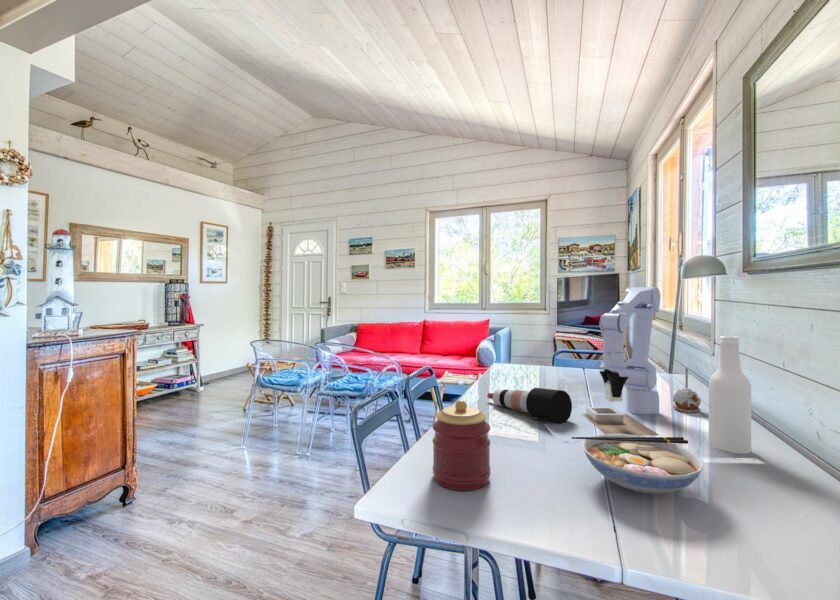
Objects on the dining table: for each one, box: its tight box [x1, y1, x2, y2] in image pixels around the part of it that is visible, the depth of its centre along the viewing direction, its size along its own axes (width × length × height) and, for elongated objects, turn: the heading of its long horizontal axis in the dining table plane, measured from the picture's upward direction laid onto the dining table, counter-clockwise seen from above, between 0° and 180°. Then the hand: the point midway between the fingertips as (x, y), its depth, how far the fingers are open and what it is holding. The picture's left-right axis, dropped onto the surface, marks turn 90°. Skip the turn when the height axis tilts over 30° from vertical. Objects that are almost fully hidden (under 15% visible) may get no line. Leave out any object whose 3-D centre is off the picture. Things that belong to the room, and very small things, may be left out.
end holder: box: [585, 406, 623, 423], centre depth 128 cm, size 8×8×2 cm
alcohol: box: [708, 335, 752, 454], centre depth 104 cm, size 9×9×30 cm
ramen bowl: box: [571, 433, 705, 495], centre depth 85 cm, size 25×23×8 cm
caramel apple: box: [672, 367, 702, 413], centre depth 140 cm, size 8×8×15 cm
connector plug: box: [604, 380, 623, 403], centre depth 123 cm, size 4×4×7 cm
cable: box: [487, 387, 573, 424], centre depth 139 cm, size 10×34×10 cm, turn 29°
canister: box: [432, 399, 492, 491], centre depth 89 cm, size 13×13×18 cm
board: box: [581, 413, 660, 436], centre depth 123 cm, size 15×20×1 cm
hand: (613, 395), depth 123 cm, fingers closed on connector plug, 4 cm apart
